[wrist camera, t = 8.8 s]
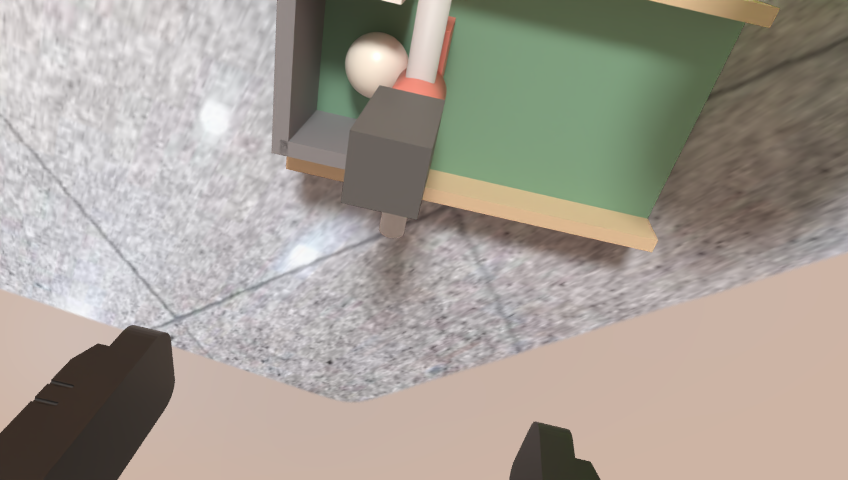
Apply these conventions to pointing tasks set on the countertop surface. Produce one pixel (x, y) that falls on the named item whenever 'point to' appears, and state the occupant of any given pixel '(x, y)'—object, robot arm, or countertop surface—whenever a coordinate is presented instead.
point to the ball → (374, 62)
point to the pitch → (524, 100)
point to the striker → (401, 127)
